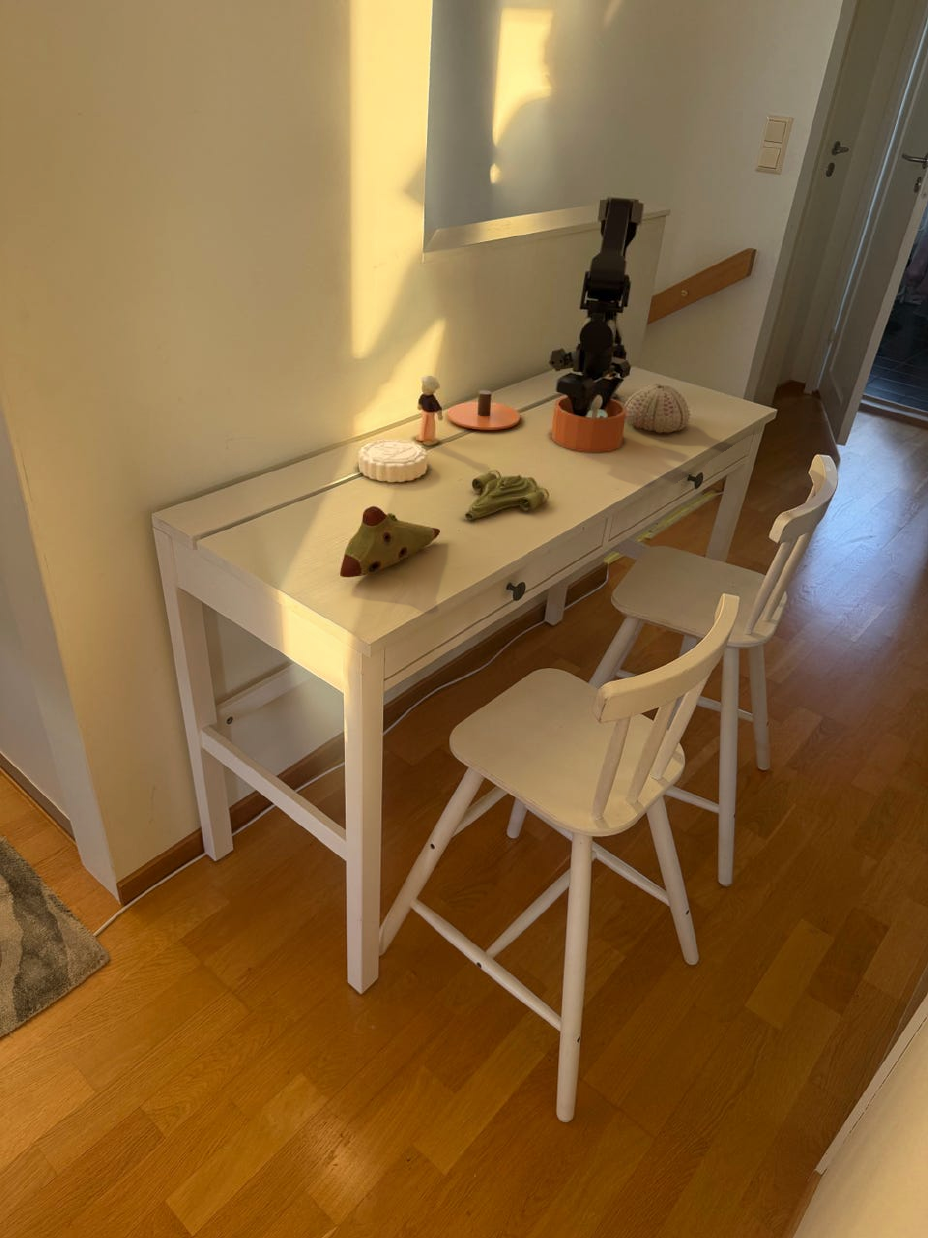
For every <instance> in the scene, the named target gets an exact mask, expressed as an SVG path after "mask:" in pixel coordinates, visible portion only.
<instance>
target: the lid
mask: <svg viewBox="0 0 928 1238" xmlns="http://www.w3.org/2000/svg"><path fill="white" fill-rule="evenodd" d="M492 393H493V392H492V391H491V390H487V389H482V390H478V394H477V395H478V397H477V401H466V402H462V403H458V404H455V405H452V406H451V407H450V408H449V409H448V411H447V418H448V420H449V421H451V422H452V423H453V424H455V425H458V426H460V427H464V428H468V429H474V430H485V431H492V430H495V431H496V430H502V429H507V428H511V427H513V426H516V425H517V424H518V423H519V422H520V421H521V415H520V412H519V411H517V410H516V409H515V408H513V407H511V406H509V405H506V404H502V403H498V402H492V396H493V395H492Z"/></svg>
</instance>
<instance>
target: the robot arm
mask: <svg viewBox="0 0 928 1238" xmlns="http://www.w3.org/2000/svg"><path fill="white" fill-rule="evenodd" d="M639 201H640V199H639V198H629V197H618V196H617V197H616V196H607V198H606V199H600V200H599V205H598V206H599V207H598V213H597V222H598V223H600V235H601V239H602V240H601V245H600V250H599V253H597V254H595V256H593V257H592V258H591V261H590V264H589V270H585V272H584V278H583V283H582V290H581V298H580V303H579V310H586V312H585V319H584V322H583V324H582V327H581V329H580V332H579V336H578V337H579V339H578V340H579V343H578V344H576V347H572V348H566V349H564V348H559V349H557V348H556V349H554V350H552V351H551V353H550V356H549V361H548V364H549V366H551V368H552V369H554V371H555V372H561V371H562V370H568V369H572V372H569V373H567V374H564V375H562V376H560V377H559V378H557V380H556V381H555V393H558V394H559V393H560V394H563V395H564V396H568V397H569V399H570V401H571V404H572V408H573V412H574V415H578V416H582V417H586V416H587V414H588V412H589V409H590V407H591V405H592V403H593V400H594V398H596V396H597V395H600V396H601V397H602V405H601V407H600V408H599V409H601V410H604V409H605V408H606V406H607V405H608V403H609V401H610V400H611V399H615V398H617V397H618V395H619V394H618V393H616V392H617V390H618V389H619V388H620V386H621V384H622V383H624V381H625V378H627V377H629V376H631V375H630V374H631V369H632V368H631V367H632V365H631V364H630V362H629V361H628V359H627V354H628V353H627V351H626V348H625V344H623V343H622V341H623V332H622V330H621V328H620V325H619V322H618V318H619V314H624V309H625V308H628V306H629V305H628V304H629V299H630V292H631V287H632V281H631V278H630V274H627V273H626V272H627V264H628V262H627V260H626V258H627V250H628V247H629V245H630V244H631V243H632V241H633V240H634V239H635V238H636V236H637V234H638V229H639V228H638V227H640V226H642V223H643V218H644V217H643V216H644V209H645V204H644V203H642V202H639ZM586 298H587V299H586ZM620 302H621V303H620ZM579 373H580V374H579Z"/></svg>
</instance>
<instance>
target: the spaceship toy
mask: <svg viewBox="0 0 928 1238" xmlns="http://www.w3.org/2000/svg"><path fill="white" fill-rule="evenodd" d="M537 484H538V483H537V481H536V480H535V478H534V477H532V476H530V477H523V476H522V475H521V474H518V475H513V476H506V475H503V476H502V475H501V473H500V472H499V470H497V469H492V470H489V471H488V472H485V473H483V474H480V475H479V476H477V477H474V478H473V479H472V481H471V487H472V489H473V490H474V492H477V493H481V494H480V496H479V497H477V499H476V500H475V501H474V502H473V503H471V506H469V507H468V511H467V512H466V513H465V514H464V517H465V518H466V519H467V520H469V521H472V520H475V519H480V518H482V517H485V516H489V515H491V514H494V513H496V512H498V511H500V510H504V509H506V508H510V507H516V506H520V508H521V509H522V510H523V511H525V512H529V511H531V510H533V509H535V508H537V507H539V506H540V505H543V504H544V503H545V501H547V500H549V499H550V493H549V491H548V490H547V488H545V487H540V488H538V485H537Z"/></svg>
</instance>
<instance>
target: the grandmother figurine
mask: <svg viewBox="0 0 928 1238" xmlns="http://www.w3.org/2000/svg"><path fill="white" fill-rule="evenodd" d="M421 383H422V385H421V392H422V393H421V395H420V396H419V398H418V402H417V407H416V409H417V410H418V411H421V420H420V426H419V434H417V435H416V436H415V440H416V441H419V442H422V443H423V445H425V446H433V445H436V444H437V443H438V440H437V439H436V418H437V420H438V421H443V420H444V416H443V408H442V405H441V404H440V402H439V401H438V399H437V398H436V396H435V393H436V391H437V390H438V389H439V388H440V387H441V385H440V383H439V381H438V380H437V378H436V377H435V376H432V375H429V374H425V375H424V376H422V378H421ZM435 416H437V417H435Z"/></svg>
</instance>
